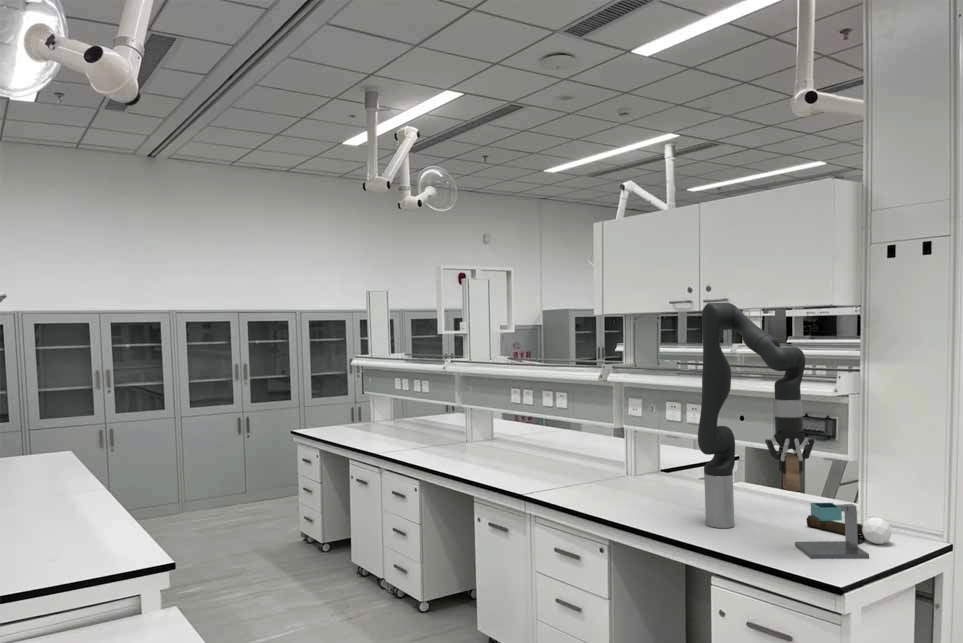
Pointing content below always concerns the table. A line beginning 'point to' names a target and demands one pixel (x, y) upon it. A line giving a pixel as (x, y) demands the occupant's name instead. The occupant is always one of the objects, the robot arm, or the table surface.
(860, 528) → the hand tool
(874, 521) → the ball
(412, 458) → the table surface
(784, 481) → the brown wooden block
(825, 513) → the cup bracket
